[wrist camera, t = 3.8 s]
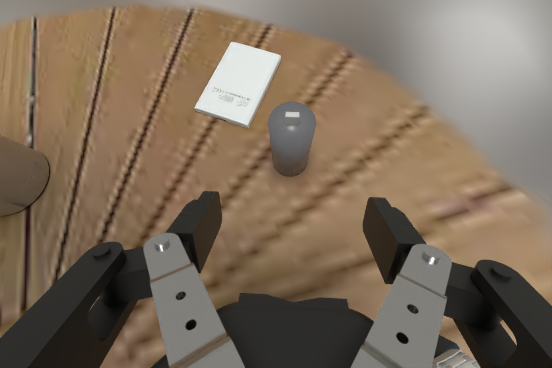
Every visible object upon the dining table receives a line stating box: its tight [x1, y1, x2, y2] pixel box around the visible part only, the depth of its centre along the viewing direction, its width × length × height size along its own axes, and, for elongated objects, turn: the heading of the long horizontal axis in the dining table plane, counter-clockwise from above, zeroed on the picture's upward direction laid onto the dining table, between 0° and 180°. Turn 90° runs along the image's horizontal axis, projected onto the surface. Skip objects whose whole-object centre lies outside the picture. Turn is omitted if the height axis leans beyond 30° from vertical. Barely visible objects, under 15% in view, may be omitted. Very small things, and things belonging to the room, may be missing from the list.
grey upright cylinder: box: [268, 102, 316, 176], centre depth 25 cm, size 4×4×10 cm
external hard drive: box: [194, 42, 281, 129], centre depth 34 cm, size 2×8×12 cm
